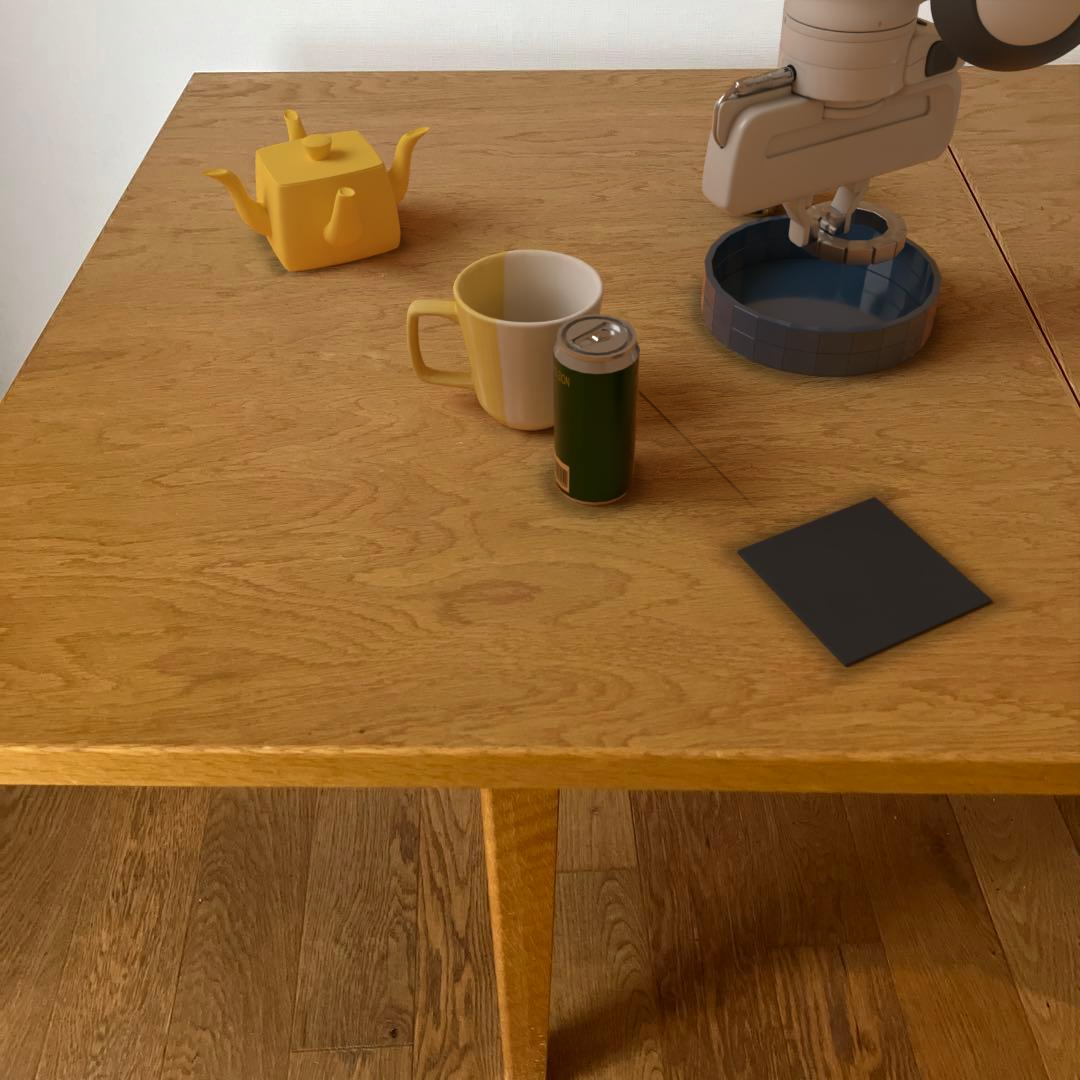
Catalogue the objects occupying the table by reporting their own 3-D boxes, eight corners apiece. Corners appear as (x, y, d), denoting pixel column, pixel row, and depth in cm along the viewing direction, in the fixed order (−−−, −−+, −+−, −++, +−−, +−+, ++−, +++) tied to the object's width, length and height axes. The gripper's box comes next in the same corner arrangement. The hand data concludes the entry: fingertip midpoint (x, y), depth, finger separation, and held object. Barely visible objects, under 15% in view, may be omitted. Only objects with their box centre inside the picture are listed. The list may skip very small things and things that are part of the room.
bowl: (834, 242, 106) (842, 195, 103) (978, 342, 94) (992, 292, 91) (658, 294, 100) (661, 246, 97) (788, 408, 88) (796, 356, 85)
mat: (873, 503, 80) (874, 496, 79) (990, 607, 73) (992, 600, 72) (736, 556, 76) (737, 549, 76) (844, 671, 69) (846, 664, 69)
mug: (614, 380, 91) (618, 256, 84) (582, 462, 84) (583, 334, 77) (444, 355, 94) (434, 234, 87) (398, 432, 86) (383, 306, 79)
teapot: (219, 267, 104) (196, 161, 98) (297, 196, 114) (281, 96, 108) (370, 295, 101) (357, 187, 94) (437, 219, 110) (429, 116, 104)
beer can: (585, 521, 79) (587, 370, 71) (539, 479, 82) (535, 330, 74) (649, 491, 81) (658, 340, 73) (601, 451, 84) (605, 303, 76)
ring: (858, 207, 97) (861, 191, 96) (925, 249, 92) (928, 232, 91) (777, 230, 94) (779, 214, 94) (840, 275, 89) (843, 258, 88)
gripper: (744, 101, 77) (727, 291, 86) (989, 39, 83) (949, 221, 92) (690, 69, 81) (680, 253, 90) (927, 12, 87) (895, 189, 97)
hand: (818, 237), depth 91 cm, fingers closed on ring, 1 cm apart
